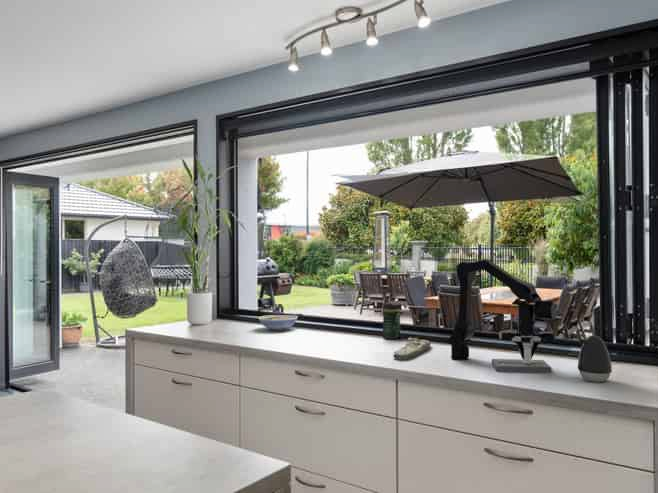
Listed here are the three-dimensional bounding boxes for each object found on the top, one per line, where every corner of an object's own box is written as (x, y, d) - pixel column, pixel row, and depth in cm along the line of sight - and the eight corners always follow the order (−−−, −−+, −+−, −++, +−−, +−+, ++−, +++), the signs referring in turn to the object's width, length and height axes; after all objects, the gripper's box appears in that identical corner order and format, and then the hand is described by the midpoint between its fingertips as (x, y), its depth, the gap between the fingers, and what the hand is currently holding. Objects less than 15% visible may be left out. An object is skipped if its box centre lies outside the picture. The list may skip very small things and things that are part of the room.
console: (496, 371, 184) (496, 365, 184) (491, 364, 196) (491, 358, 196) (551, 372, 181) (551, 366, 181) (543, 365, 193) (543, 359, 193)
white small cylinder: (524, 363, 186) (523, 348, 186) (521, 361, 190) (521, 346, 190) (531, 363, 186) (531, 348, 186) (529, 361, 190) (528, 346, 190)
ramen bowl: (251, 332, 280) (250, 318, 280) (263, 326, 302) (263, 312, 302) (295, 333, 275) (294, 318, 276) (303, 326, 298) (303, 313, 298)
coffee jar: (394, 340, 250) (393, 302, 250) (380, 338, 255) (379, 302, 255) (403, 337, 258) (402, 301, 258) (390, 335, 263) (389, 300, 263)
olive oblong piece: (387, 363, 207) (410, 366, 203) (387, 350, 207) (410, 353, 202) (414, 343, 238) (435, 346, 233) (414, 332, 238) (435, 335, 233)
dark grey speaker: (571, 377, 174) (570, 333, 175) (599, 376, 175) (598, 332, 175) (588, 385, 164) (587, 338, 164) (618, 383, 165) (618, 337, 165)
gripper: (547, 314, 194) (547, 355, 194) (496, 314, 198) (497, 353, 198) (554, 318, 183) (555, 361, 183) (501, 318, 187) (501, 360, 187)
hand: (526, 359), depth 188 cm, fingers closed on white small cylinder, 2 cm apart
